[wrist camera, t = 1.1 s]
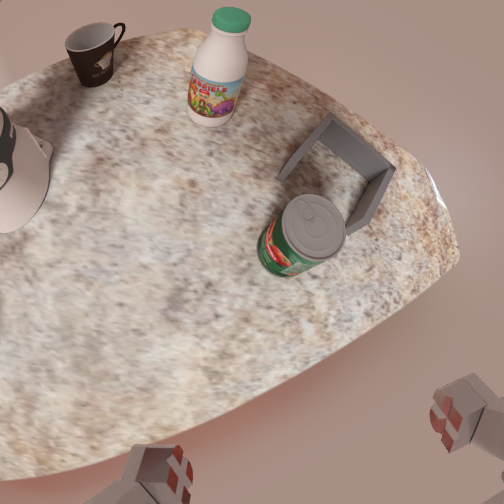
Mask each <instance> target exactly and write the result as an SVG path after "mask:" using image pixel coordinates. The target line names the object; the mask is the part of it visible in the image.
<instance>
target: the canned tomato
mask: <svg viewBox="0 0 504 504" xmlns="http://www.w3.org/2000/svg"><path fill="white" fill-rule="evenodd" d="M345 238H346V227H345V222H344V219H343V217H342V215H341V213H340V212H339V210H338V209H337V207H336V206H335V205H334V204H333V203H332V202H330V201H329V200H328V199H326V198H324V197H322V196H320V195H316V194H302V195H299V196H297V197H295V198H294V199H292V200H291V201H290V202H289V203H288V204H287V206H286V207H285V208H284V209H283V210H282V211H281V212H280V214H279V215H278V216H277V217H276V218H275V219H274V220H273V221H272V223H271V224H270V225H269V226H268V227H267V228H266V229H265V230H264V231H263V232H262V234H261V235H260V237H259V239H258V242H257V256H258V259H259V262H260V263H261V265H262V266H263V268H264V269H265V270H266V271H267V272H269V273H270V274H272V275H274V276H276V277H279V278H291V277H294V276H296V275H298V274H300V273H302V272H304V271H306V270H308V269H310V268H312V267H314V266H316V265H318V264H321V263H323V262H325V261H326V260H329V259H331V258H333V257H335V256H336V255H337V254H338V253H339V252H340V251H341V249H342V247H343V245H344V243H345Z"/></svg>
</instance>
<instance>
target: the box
mask: <svg viewBox="0 0 504 504" xmlns="http://www.w3.org/2000/svg"><path fill="white" fill-rule="evenodd" d="M317 140H319V141H320V142H322V143H323V144H324V145H326V146H327V147H328V148H329V149H331V150H332V151H333V152H334V153H336V154H337V155H338V156H339V157H340V158H342V159H343V160H344V161H345V162H346V163H348V164H349V165H350V166H351V167H352V168H354V169H355V170H356V171H357V172H358V173H359V174H361V175H362V176H363V177H364V178H365V179H366V180H367V181H369V182H370V183H369V185H368V187H367V188H366V190H365V192H364V194H363V196H362V198H361V199H360V201H359V203H358V205H357V206H356V208H355V210H354V212H353V214H352V215H351V217H350V219H349V220H348V222H347V224H346V226H345V227H346V234H347V235H350V234H352V233H354V232H355V231H357V230H359V229H361V228H362V227H364V226H366V225H368V224H369V223H370V221H371V219H372V217H373V215H374V213H375V211H376V209H377V207H378V205H379V203H380V201H381V199H382V197H383V195H384V193H385V191H386V189H387V187H388V184H389V182H390V180H391V178H392V176H393V174H394V172H395V169H396V168H395V167H394V166H393V165H392V164H391V163H390V162H389V161H388V160H387V159H386V158H385V157H383V156H382V155H381V154H380V153H379V152H378V151H377V150H376V149H374V148H373V147H372V146H371V145H370V144H369V143H367V142H366V141H365V140H364V139H363V138H362V137H360V136H359V135H358V134H357V133H356V132H354V131H353V130H352V129H351V128H349V127H348V126H347V125H346V124H344V123H343V122H342V121H341V120H339V119H338V118H337V117H336V116H334V115H333V114H332V113H330V112H329V114H328V115H327V116H326V117H325V118H324V119H323V120H322V122H321V123H320V124H319V125H318V126H317V127H316V129H315V130H314V131H313V132H312V133H311V134H310V136H309V137H308V138H307V139H306V140H305V141H304V143H303V144H302V145H301V146H300V147H299V149H298V150H297V151H296V152H295V153H294V154H293V156H292V157H291V158H290V159H289V161H288V162H287V164H286V165H285V167H284V168H283V169H282V171H281V172H280V174H279V175H278V177H277V178H278V179H279V180H280V181H281V182H284V181H285V179H286V178H287V177H288V176H289V174H290V173H291V172H292V171H293V169H294V168H295V167H296V166H297V164H298V163H299V162H300V161H301V159H302V158H303V157H304V156H305V154H306V153H307V152H308V151H309V149H310V148H311V147H312V146H313V145H314V143H315V142H316V141H317Z"/></svg>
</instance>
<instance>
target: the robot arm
mask: <svg viewBox="0 0 504 504" xmlns="http://www.w3.org/2000/svg"><path fill="white" fill-rule="evenodd" d="M0 1H1V0H0ZM41 147H42V148H41ZM52 152H53V147H52V145H51V144H50V143H49V142H47V141H45V140H43V139H41V138H39V137H37V136H35V135H33V134H31V132H30V131H29V130H28V128H27V127H25V128H23V127H21V126H19V125H17V124H14V123H12V121H11V119H10V117H9V116H8V114H7V113H6V112H5V111H4V110H3V109H2V108H1V107H0V233H8V232H12V231H14V230H16V229H18V228H20V227H21V226H23V225H24V224H25V223H26V222H28V221H29V220H30V219H31V218H32V216H33V215H34V214H35V213H36V211H37V210H38V209H39V207H40V205H41V203H42V201H43V199H44V197H45V195H46V192H47V188H48V183H49V161H50V158H51V155H52ZM433 399H434V400H435V403H434V404H433V405H432V407H431V409H430V422H431V425H432V427H433V429H434V430H435V432H437V433H440V434H442V438H441V441H442V443H443V444H444V446H445V447H446V449H447V451H448V452H449V453H451V452H453V451H455V450H457V449H459V448H461V447H463V446H465V445H467V444H469V443H470V445H472V446H474V447H476V448H478V449H480V450H482V451H484V452H486V453H488V454H490V455H493V456H495V457H497V458H499V459H501V460H503V461H504V397H501V398H499V397H498V396H497V395H496V394H495V393H494V392H493V391H492V390H491V389H490V388H489V387H488V386H487V385H486V384H485V383H484V382H483V381H482V380H481V379H480V378H479V377H478V376H477V375H476V374H474V373H471V374H469V375H467V376H465V377H463V378H461V379H458V380H456V381H454V382H451V383H449V384H447V385H445V386H443V387H441V388H438V389H436V391H435V392H434V395H433ZM501 478H502V480H503V481H504V471H503V472H502V474H501ZM192 483H193V469H192V467H191V464H190V462H189V460H188V459H186V458H185V457H183V450H182V448H181V447H180V445H153V444H134V445H133V446H132V448H131V450H130V453H129V456H128V459H127V461H126V464H125V467H124V470H123V473H122V475H121V478H120V480H115V481H114V482H113V483H112V484H110V485H109V486H107V487H106V488H105V489H103V490H102V491H101V492H100V493H98V494H97V495H95V496H94V497H93V498H91V499H90V500H89V501H87V502H86V503H84V504H190V497H191V494H190V493H189V492H188V490H187V489H188V488H189V487H190V486H191V485H192ZM482 504H504V489H503V490H502V491H500V492H499V493H498V494H496V495H494V496H493V497H491V498H490V499H488V500H487V501H485V502H484V503H482Z"/></svg>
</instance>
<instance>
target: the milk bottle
mask: <svg viewBox="0 0 504 504" xmlns="http://www.w3.org/2000/svg"><path fill="white" fill-rule="evenodd" d="M250 22H251V16H250V15H249V14H248V13H247V12H245V11H243V10H241V9H238V8H233V7H223V8H220V9H217V10H216V11H215V13H214V14H213V19H212V23H211V27H212V31H211V32H210V34H209V35H208V37H207V38H206V39H205V40H204V41H203V42H202V44H201V45H200V46H199V48H198V49H197V51H196V54H195V56H194V60H193V65H192V70H191V77H190V84H189V92H188V100H187V113H188V115H189V117H190V118H191V119H192V120H193V121H194V122H195V123H197V124H199V125H201V126H204V127H218V126H221V125H223V124H225V123H226V122H227V121H229V119H230V118H231V117H232V114H233V111H234V108H235V105H236V102H237V99H238V96H239V93H240V90H241V87H242V83H243V80H244V77H245V74H246V70H247V65H248V54H247V49H246V46H245V42H244V35H245V34H246V33H247V31H248V28H249V25H250Z"/></svg>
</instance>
